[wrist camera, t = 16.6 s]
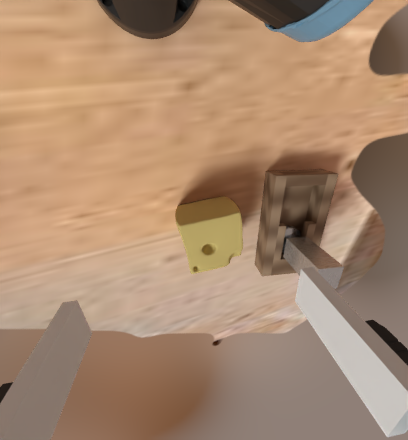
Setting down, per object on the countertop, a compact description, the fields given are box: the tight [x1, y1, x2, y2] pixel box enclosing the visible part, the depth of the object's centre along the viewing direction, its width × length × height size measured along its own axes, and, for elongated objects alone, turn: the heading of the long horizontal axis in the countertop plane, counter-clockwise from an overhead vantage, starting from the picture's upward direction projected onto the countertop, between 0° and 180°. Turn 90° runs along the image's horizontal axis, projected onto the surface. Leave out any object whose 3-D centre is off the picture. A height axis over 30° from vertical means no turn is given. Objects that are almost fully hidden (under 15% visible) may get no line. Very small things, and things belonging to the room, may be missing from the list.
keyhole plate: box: [255, 169, 338, 276], centre depth 43 cm, size 22×12×4 cm, turn 0°
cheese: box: [175, 196, 243, 274], centre depth 38 cm, size 10×11×10 cm
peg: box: [282, 225, 344, 289], centre depth 40 cm, size 6×6×14 cm
